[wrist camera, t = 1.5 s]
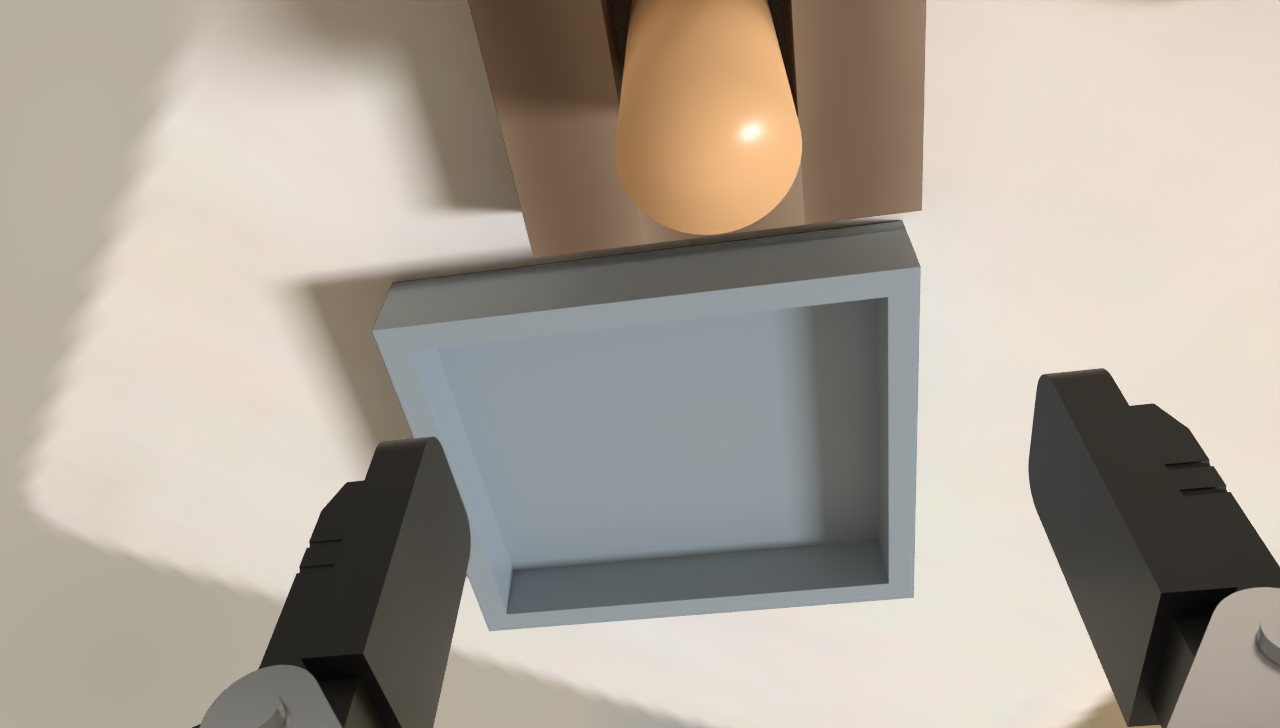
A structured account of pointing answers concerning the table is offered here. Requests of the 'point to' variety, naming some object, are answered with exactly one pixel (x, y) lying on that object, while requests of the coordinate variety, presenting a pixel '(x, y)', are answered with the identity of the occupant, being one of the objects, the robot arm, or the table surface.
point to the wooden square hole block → (590, 99)
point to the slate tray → (674, 424)
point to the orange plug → (705, 115)
